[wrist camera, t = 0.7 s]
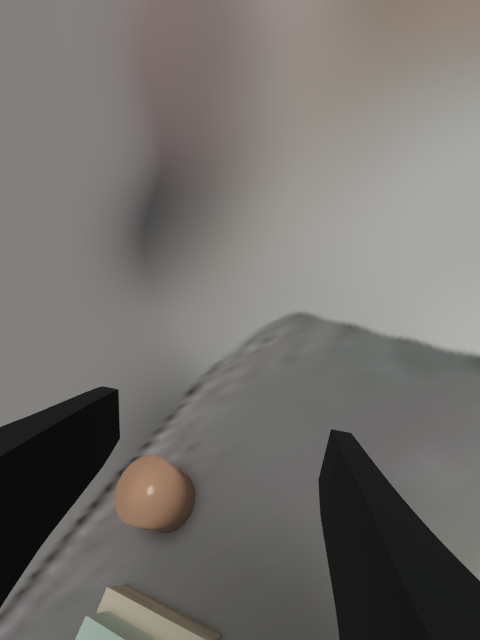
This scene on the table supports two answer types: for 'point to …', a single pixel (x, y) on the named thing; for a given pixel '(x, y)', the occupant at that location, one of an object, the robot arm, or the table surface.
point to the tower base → (152, 616)
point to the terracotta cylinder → (154, 495)
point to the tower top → (109, 628)
